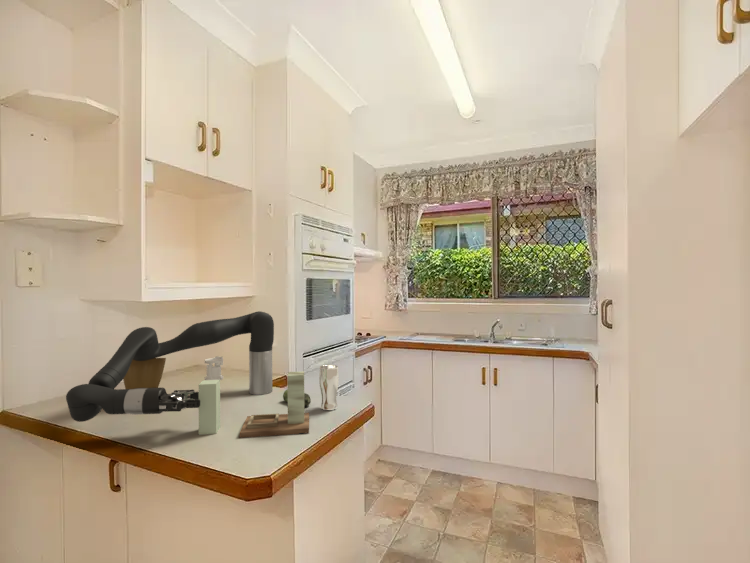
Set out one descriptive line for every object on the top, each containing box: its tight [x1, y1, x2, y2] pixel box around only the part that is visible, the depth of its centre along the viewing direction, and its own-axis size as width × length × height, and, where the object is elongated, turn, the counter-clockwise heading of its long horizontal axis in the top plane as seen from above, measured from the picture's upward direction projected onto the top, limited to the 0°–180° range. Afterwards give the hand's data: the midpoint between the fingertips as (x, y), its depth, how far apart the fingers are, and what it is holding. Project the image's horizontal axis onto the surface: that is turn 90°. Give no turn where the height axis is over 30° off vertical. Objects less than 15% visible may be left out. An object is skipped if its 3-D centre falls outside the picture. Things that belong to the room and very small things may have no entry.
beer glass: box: [318, 364, 340, 411], centre depth 138 cm, size 7×7×15 cm
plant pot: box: [122, 357, 167, 389], centre depth 146 cm, size 15×15×16 cm
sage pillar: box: [198, 379, 221, 436], centre depth 118 cm, size 5×5×15 cm
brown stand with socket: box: [239, 371, 310, 439], centre depth 121 cm, size 14×20×16 cm
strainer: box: [204, 355, 224, 381], centre depth 159 cm, size 7×7×15 cm
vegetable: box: [282, 388, 312, 408], centre depth 144 cm, size 14×5×5 cm, turn 48°
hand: (203, 399), depth 117 cm, fingers open, 8 cm apart
